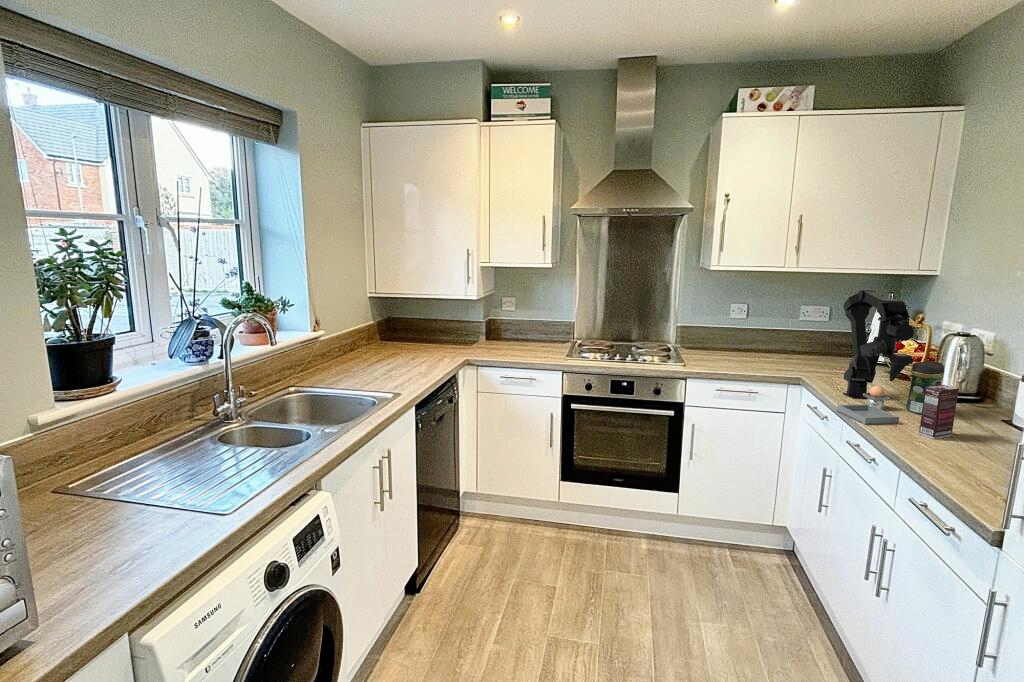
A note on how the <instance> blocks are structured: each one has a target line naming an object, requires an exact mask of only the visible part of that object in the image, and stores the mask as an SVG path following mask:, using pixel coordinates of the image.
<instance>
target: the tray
mask: <svg viewBox="0 0 1024 682" xmlns="http://www.w3.org/2000/svg"><path fill="white" fill-rule="evenodd" d="M836 412H837V413H838V414H841V415H843V416H845V417H847V418H849V419H852V420H854V421H855V422H857V423H860V424H862V425H864V426H874V425H876V426H877V425H879V426H880V425H881V426H882V425H883V426H885V425H899V424H900V423H899V422H900V416H897V415H896V414H893V413H890V412H887V411H886V410H884V409H883V410H881V409H879V408H876V407H874V406H871V405H869V404H867V403H866V404H837V406H836Z"/></svg>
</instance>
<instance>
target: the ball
mask: <svg viewBox="0 0 1024 682" xmlns="http://www.w3.org/2000/svg"><path fill="white" fill-rule="evenodd" d="M869 393H870V394H871V396H873V397H882V396H883V395H885V390H884V389H883V387H882V386H879V385H873V386H872V387H871V388H870V389H869Z"/></svg>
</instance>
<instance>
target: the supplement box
mask: <svg viewBox="0 0 1024 682" xmlns="http://www.w3.org/2000/svg"><path fill="white" fill-rule="evenodd" d="M959 391H960V390H959V387H956V386H952V385H947V384H941V385H939V386H930V387H926V389H925V396H924V402H923V409H922V414H921V417H920V423H919V431H918V435H919V436H921V435H922V437H923V438H924V437H925V438H928V439H931V440H937V439H944V438H949V437H950V438H951V437H952V435H953V429H954V422H955V415H956V409H957V403H958V395H959Z"/></svg>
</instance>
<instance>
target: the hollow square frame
mask: <svg viewBox="0 0 1024 682" xmlns="http://www.w3.org/2000/svg"><path fill="white" fill-rule="evenodd" d="M863 396H865V397H867V398H866V404H869V405H871V406H874V407H876V408H879V409H881V410H883V411H884V406H885V401H890V400H891V397H890V396H888V395H885V394H884V395H883V396H882V397H873V396H871V394H870V392H867V393H863Z"/></svg>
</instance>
